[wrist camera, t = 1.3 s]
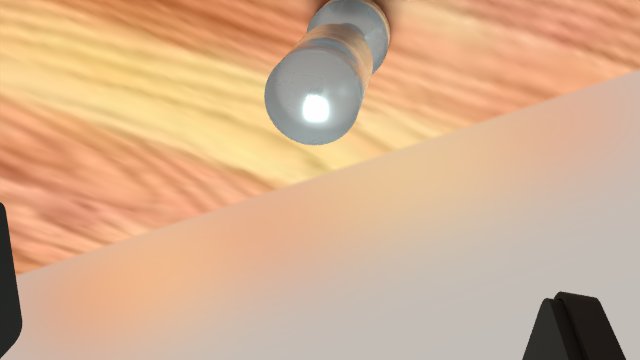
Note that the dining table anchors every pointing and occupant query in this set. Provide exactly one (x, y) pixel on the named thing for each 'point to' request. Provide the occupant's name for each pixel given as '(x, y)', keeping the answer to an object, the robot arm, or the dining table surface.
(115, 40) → the dining table surface
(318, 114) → the steel peg
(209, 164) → the dining table surface
